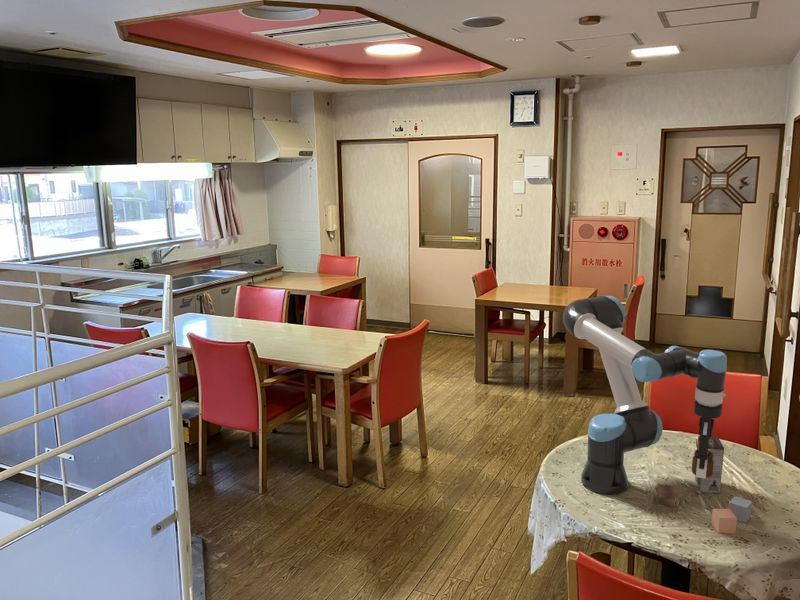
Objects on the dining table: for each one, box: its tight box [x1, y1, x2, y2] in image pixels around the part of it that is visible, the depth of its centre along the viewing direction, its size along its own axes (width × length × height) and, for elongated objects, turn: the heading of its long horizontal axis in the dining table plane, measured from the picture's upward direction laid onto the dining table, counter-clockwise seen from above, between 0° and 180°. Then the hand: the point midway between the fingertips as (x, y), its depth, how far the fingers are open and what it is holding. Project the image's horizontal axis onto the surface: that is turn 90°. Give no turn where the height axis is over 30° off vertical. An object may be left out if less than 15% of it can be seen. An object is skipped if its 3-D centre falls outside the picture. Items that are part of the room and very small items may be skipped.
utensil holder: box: [691, 438, 714, 478], centre depth 200 cm, size 6×6×12 cm
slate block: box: [728, 496, 753, 524], centre depth 201 cm, size 5×5×5 cm
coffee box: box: [694, 435, 725, 494], centre depth 218 cm, size 9×6×16 cm
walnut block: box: [656, 483, 677, 508], centre depth 210 cm, size 5×5×5 cm
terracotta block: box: [710, 508, 738, 534], centre depth 195 cm, size 5×5×5 cm
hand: (701, 472), depth 202 cm, fingers closed on utensil holder, 6 cm apart
